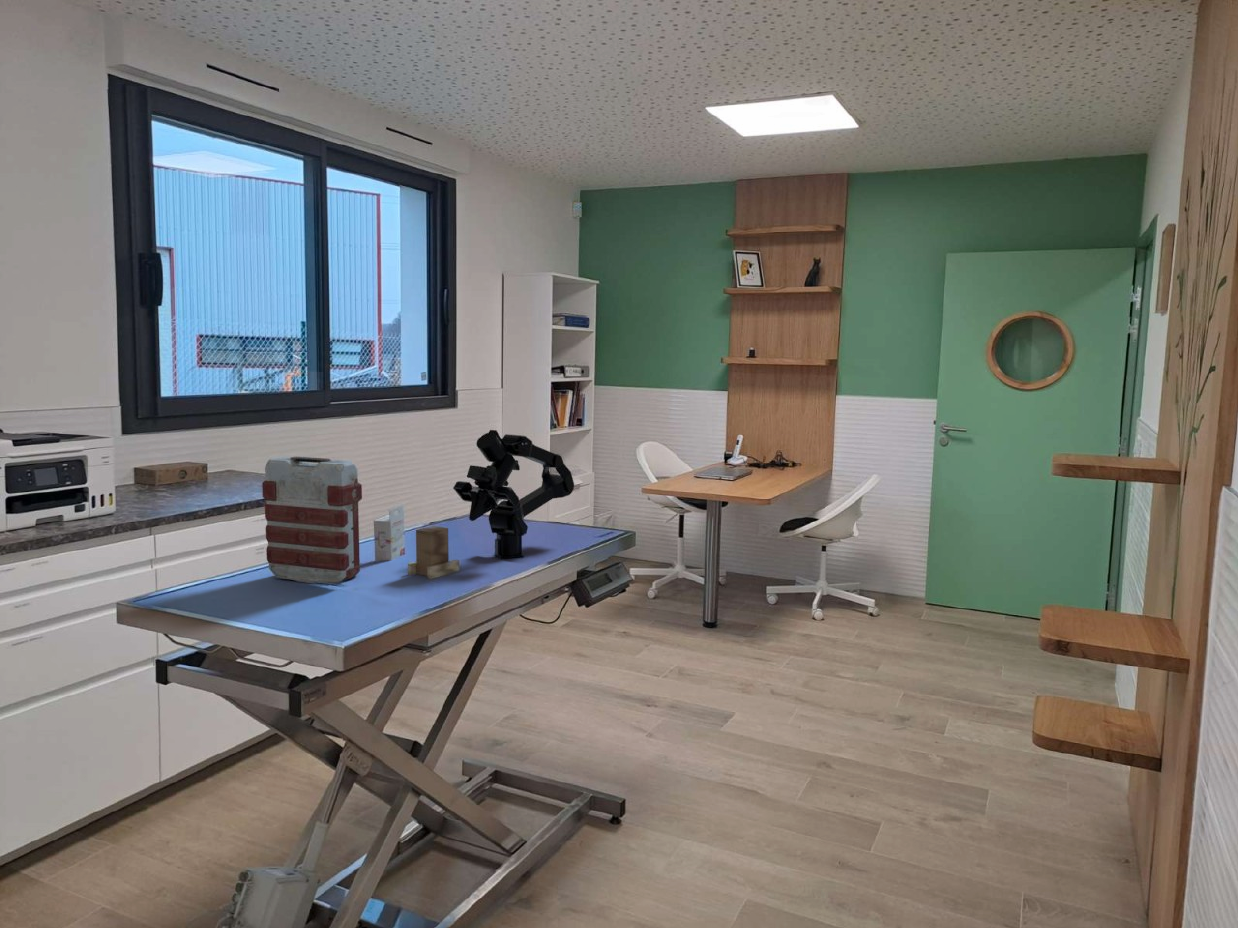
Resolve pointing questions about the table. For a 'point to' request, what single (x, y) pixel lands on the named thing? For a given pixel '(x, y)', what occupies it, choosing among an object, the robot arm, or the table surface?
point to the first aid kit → (312, 519)
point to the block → (431, 548)
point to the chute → (436, 569)
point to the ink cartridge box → (389, 535)
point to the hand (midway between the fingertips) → (470, 519)
